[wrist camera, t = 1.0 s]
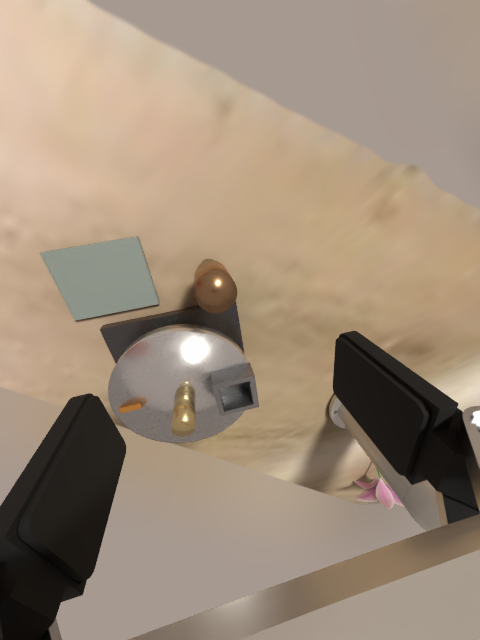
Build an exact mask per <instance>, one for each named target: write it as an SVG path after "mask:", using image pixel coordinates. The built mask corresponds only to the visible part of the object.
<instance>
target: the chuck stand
mask: <svg viewBox="0 0 480 640" xmlns="http://www.w3.org/2000/svg"><path fill="white" fill-rule="evenodd" d="M176 324H193V325H200V326H205V327H209V328H212V329H215V330H217V331H219V332H221V333H223V334H225V335H226V336H228V337H229V338H231V339H232V340H233V341H234V342H235V343H236V344H237V345H238V346H239V347H240V348H241V350H242V351H243V353H244V349H243V342H242V336H241V330H240V324H239V318H238V312H237V306H236V301H235V302H234V304H233V305H232V306H231V307H230V308H229V309H228V310H226V311H224V312H221V313H210V312H207V311H205V310H204V309H202V308H201V307H200V306H196V307H191V308H186V309H181V310H176V311H171V312H166V313H161V314H156V315H151V316H146V317H141V318H136V319H131V320H126V321H121V322H116V323H111V324H106V325H103V326H102V327H101V329H100V331H101V333H102V335H103V337H104V339H105V341H106V343H107V345H108V348H109V350H110V352H111V354H112V356H113V358H114V360H115V362H116V364H117V362H118V360H119V359H120V357H121V355H122V354H123V352H124V351H125V350H126V348H127V347H128V346H129V345H130V344H131V343H132V342H134V341H135V340H136V339H138V338H139V337H141V336H142V335H144V334H146V333H148V332H150V331H152V330H155V329H157V328H161V327H165V326H169V325H176Z"/></svg>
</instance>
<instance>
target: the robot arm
mask: <svg viewBox="0 0 480 640" xmlns="http://www.w3.org/2000/svg"><path fill="white" fill-rule="evenodd" d="M333 391H334V393H335V395H334V396H333V398H332V400H331V402H330V405H329V416H330V418H331V420H332V421H333V422H334V424H335V425H337V426H338V427H340V428H344V429H349V431H350V432H351V434H352V435H353V436H354V438H355V439H356V440H357V442H358V443H359V445H360V446H361V447H362V449H363V450H364V451H365V453H366V454H367V456H368V457H369V458H370V460H371V461H372V463H373V464H374V465H375V467H376V468H377V469H378V471H379V472H380V474H381V475H382V476H383V478H384V479H385V480H386V482H387V483H388V485H389V486H390V487H391V489H392V490H393V491H394V493H395V494H396V496H397V497H398V498H399V500H400V501H401V503H402V504H403V505H404V507H405V508H406V509H407V511H408V512H409V513H410V515H411V516H412V517H413V519H414V520H415V521H416V522H417V523H418V524H419V525H420V526H421V527H422V528H423V529H425V530H426V531H427V532H424V533H421V534H419V535H416V536H413V537H410V538H407V539H404V540H402V541H399V542H396V543H393V544H390V545H388V546H385V547H382V548H379V549H376V550H374V551H371V552H368V553H365V554H362V555H360V556H357V557H354V558H351V559H348V560H346V561H343V562H340V563H337V564H334V565H331V566H329V567H326V568H323V569H321V570H318V571H315V572H312V573H309V574H307V575H304V576H301V577H299V578H296V579H293V580H290V581H287V582H285V583H282V584H279V585H276V586H274V587H271V588H268V589H265V590H263V591H260V592H257V593H254V594H251V595H249V596H246V597H243V598H241V599H238V600H235V601H232V602H230V603H227V604H224V605H221V606H219V607H216V608H213V609H210V610H207V611H205V612H202V613H199V614H197V615H194V616H191V617H188V618H186V619H183V620H180V621H178V622H175V623H172V624H169V625H167V626H164V627H161V628H159V629H156V630H153V631H151V632H148V633H145V634H142V635H140V636H137V637H134V638H132V639H129V640H480V406H473V407H469V408H467V409H465V410H464V412H462V411H461V410H459V409H458V408H457V406H458V403H457V402H455V401H454V400H452V399H451V398H450V397H448V396H447V395H445V394H444V393H443V392H441V391H440V390H438V389H437V388H436V387H434V386H433V385H431V384H430V383H429V382H427V381H426V380H424V379H423V378H422V377H420V376H419V375H417V374H416V373H415V372H413V371H412V370H410V369H409V368H407V367H406V366H405V365H403V364H402V363H400V362H399V361H398V360H396V359H395V358H393V357H392V356H391V355H389V354H388V353H386V352H385V351H384V350H382V349H381V348H379V347H378V346H377V345H375V344H374V343H372V342H371V341H370V340H368V339H367V338H365V337H364V336H363V335H361V334H360V333H358V332H357V331H351V332H347V333H342V334H340V336H339V338H337V339H336V346H335V361H334V377H333ZM125 454H126V445H125V442H124V440H123V438H122V436H121V435H120V433H119V431H118V429H117V428H116V426H115V424H114V422H113V421H112V419H111V417H110V416H109V414H108V412H107V410H106V409H105V407H104V405H103V403H102V402H101V400H100V398H99V397H98V396H94V395H93V394H85V395H81V396H76V397H73V398H71V399H70V400H69V401H68V403H67V404H66V406H65V407H64V409H63V410H62V412H61V414H60V415H59V417H58V418H57V420H56V422H55V423H54V424H53V426H52V427H51V429H50V430H49V432H48V434H47V435H46V437H45V438H44V440H43V441H42V443H41V444H40V446H39V447H38V449H37V451H36V452H35V454H34V455H33V457H32V458H31V460H30V461H29V463H28V464H27V466H26V468H25V469H24V471H23V472H22V474H21V475H20V477H19V478H18V480H17V482H16V483H15V485H14V486H13V488H12V489H11V491H10V492H9V494H8V495H7V497H6V498H5V500H4V502H3V503H2V505H1V506H0V640H62V638H61V635H60V631H59V627H58V624H57V620H56V615H57V612H58V609H59V606H60V603H61V602H63V601H65V600H69V599H72V598H75V597H78V596H81V595H83V592H84V588H85V585H86V581H87V579H88V578H90V576H91V575H92V573H93V572H94V569H95V565H96V562H97V558H98V554H99V551H100V547H101V543H102V539H103V536H104V532H105V528H106V525H107V521H108V517H109V513H110V510H111V506H112V502H113V498H114V494H115V491H116V487H117V484H118V479H119V476H120V472H121V469H122V465H123V461H124V457H125Z"/></svg>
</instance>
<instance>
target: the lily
mask: <svg viewBox="0 0 480 640" xmlns="http://www.w3.org/2000/svg"><path fill="white" fill-rule="evenodd" d="M376 469H377V468H376ZM377 471H378V469H377ZM378 474H379V478H380V480H379V479H377V478H375V479H374V480H373V482H372V483H365V482H360V481H354V482H355V483H356V484H358V485H359V486H361V487H362V488H364V489H366V490H364V491H363V492H362V493H361V494H360V495H358V496H357V497H355V499H356V500H359V501H364V502H375V501H378V500H379V501H380V502H381V503H382V504H383V505H384V506H385V507H386V508H388V509H391V508H392V507H393V505H394V503H395V504H398V505H400V506H403V507H404V505H403V504H402V503H401V501H400V500H399V498H398V497H397V496H396V494H395V493H394V491H393V490H392V489H391V487H390V486H388V485H387V484H385V483H384V482H383V481H382V479H381V476H380V473H379V471H378Z"/></svg>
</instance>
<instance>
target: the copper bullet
mask: <svg viewBox="0 0 480 640" xmlns="http://www.w3.org/2000/svg"><path fill="white" fill-rule="evenodd" d="M236 297H237V288H236V285H235V283H234V281H233V279H232V278H231V276H230V274H229V273H228V271H227V270H226V268H225V267H224V266H223V265H222V264H221V263H219V262H217V261H214V260H211V259H207V260H204V261H203V262H202V263H201V264H200V266H199V267H198V268H197V270H196V272H195V299H196V301H197V303H198V305H199V306H200V307H201V308H202V309H204V310H205V311H207V312H210V313H221V312H224V311H226V310H228V309H229V308H230V307H231V306H232V305H233V304H234V302H235V300H236Z"/></svg>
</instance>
